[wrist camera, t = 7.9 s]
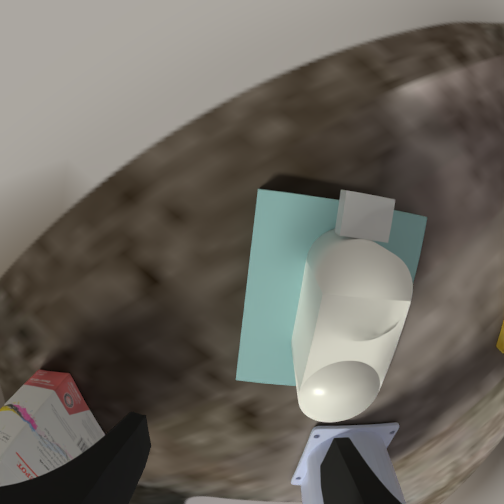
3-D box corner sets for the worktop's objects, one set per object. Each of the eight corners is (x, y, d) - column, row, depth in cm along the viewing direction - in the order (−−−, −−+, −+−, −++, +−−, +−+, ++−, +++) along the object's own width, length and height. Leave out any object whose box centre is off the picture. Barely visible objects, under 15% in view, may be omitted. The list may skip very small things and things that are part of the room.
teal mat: (373, 377, 19) (377, 387, 18) (237, 369, 19) (235, 380, 18) (417, 214, 16) (427, 217, 15) (258, 188, 16) (258, 189, 15)
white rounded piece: (345, 369, 18) (365, 421, 13) (285, 366, 18) (290, 421, 13) (385, 198, 15) (431, 207, 10) (316, 185, 15) (340, 188, 10)
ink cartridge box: (37, 367, 21) (-51, 459, 7) (71, 371, 21) (-22, 484, 6) (73, 431, 23) (15, 524, 9) (108, 438, 22) (52, 546, 8)
